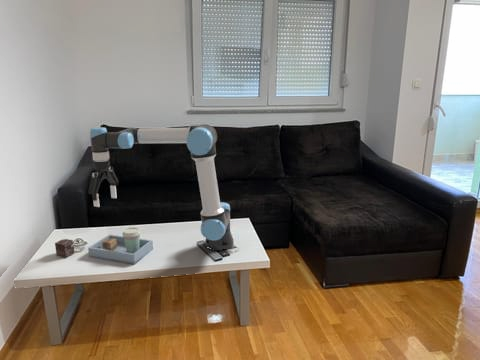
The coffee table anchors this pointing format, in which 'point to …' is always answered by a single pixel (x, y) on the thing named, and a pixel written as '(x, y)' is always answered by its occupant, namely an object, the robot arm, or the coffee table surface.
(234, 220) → the coffee table surface
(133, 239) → the coffee cup
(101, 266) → the coffee table surface
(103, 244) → the walnut cube
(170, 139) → the robot arm
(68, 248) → the box
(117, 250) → the tray
